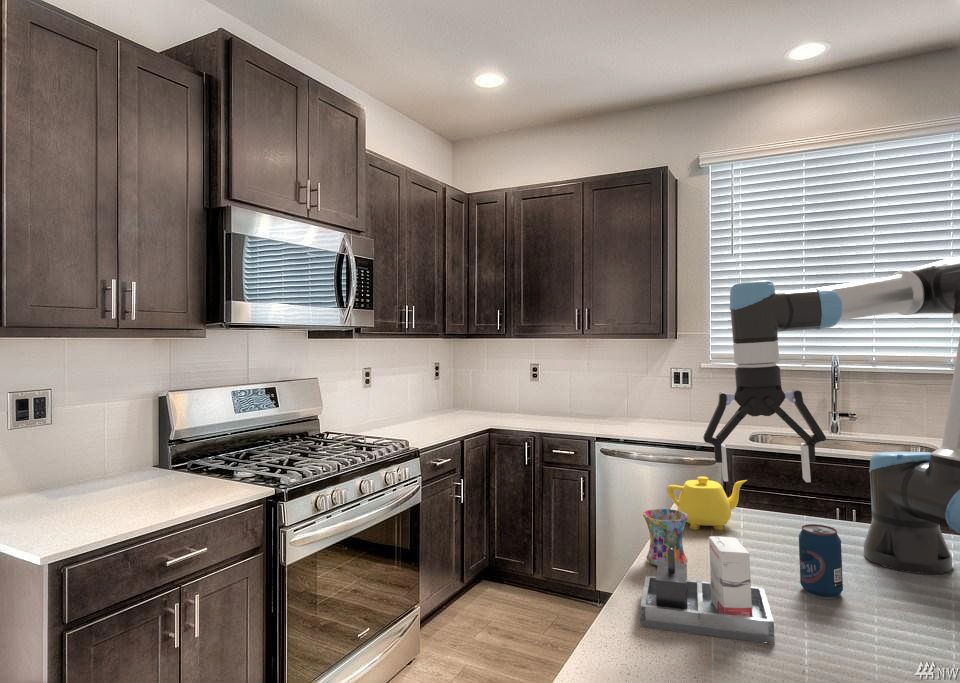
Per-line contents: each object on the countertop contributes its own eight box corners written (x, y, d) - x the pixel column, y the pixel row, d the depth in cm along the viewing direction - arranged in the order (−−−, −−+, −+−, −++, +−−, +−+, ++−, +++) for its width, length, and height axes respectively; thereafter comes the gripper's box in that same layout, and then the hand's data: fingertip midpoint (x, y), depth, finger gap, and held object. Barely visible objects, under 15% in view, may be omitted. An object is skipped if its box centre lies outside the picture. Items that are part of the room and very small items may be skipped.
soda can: (792, 589, 110) (789, 526, 110) (817, 582, 113) (814, 521, 113) (826, 603, 104) (823, 536, 104) (851, 595, 107) (849, 531, 107)
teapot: (755, 534, 142) (753, 483, 142) (671, 531, 146) (669, 482, 146) (741, 518, 155) (739, 472, 156) (664, 516, 159) (662, 471, 159)
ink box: (754, 625, 94) (751, 552, 95) (722, 623, 95) (720, 552, 95) (738, 601, 103) (736, 535, 103) (710, 600, 104) (707, 535, 104)
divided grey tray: (764, 605, 104) (761, 542, 104) (774, 644, 91) (772, 571, 91) (646, 592, 111) (644, 533, 111) (640, 626, 98) (638, 559, 98)
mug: (688, 573, 119) (686, 522, 119) (642, 568, 123) (640, 518, 123) (691, 554, 130) (689, 507, 130) (648, 549, 134) (647, 503, 134)
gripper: (828, 360, 106) (837, 475, 106) (685, 367, 114) (692, 474, 114) (839, 362, 99) (848, 485, 99) (685, 370, 107) (694, 484, 107)
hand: (765, 480), depth 106 cm, fingers open, 13 cm apart
